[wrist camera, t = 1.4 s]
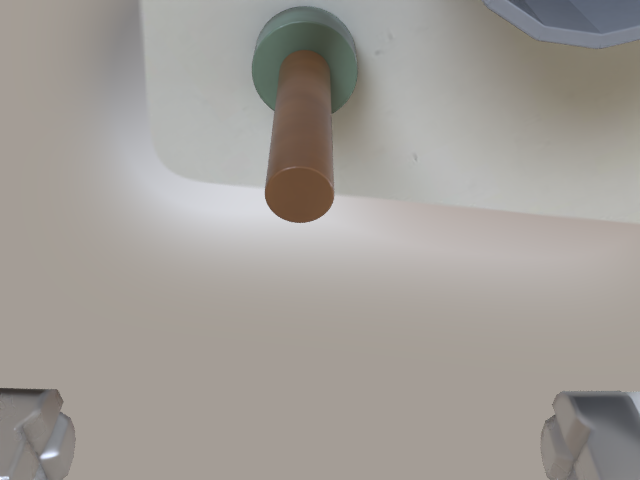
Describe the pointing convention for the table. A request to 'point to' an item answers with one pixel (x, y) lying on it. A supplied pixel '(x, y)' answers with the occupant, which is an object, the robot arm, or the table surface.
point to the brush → (303, 106)
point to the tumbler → (573, 20)
